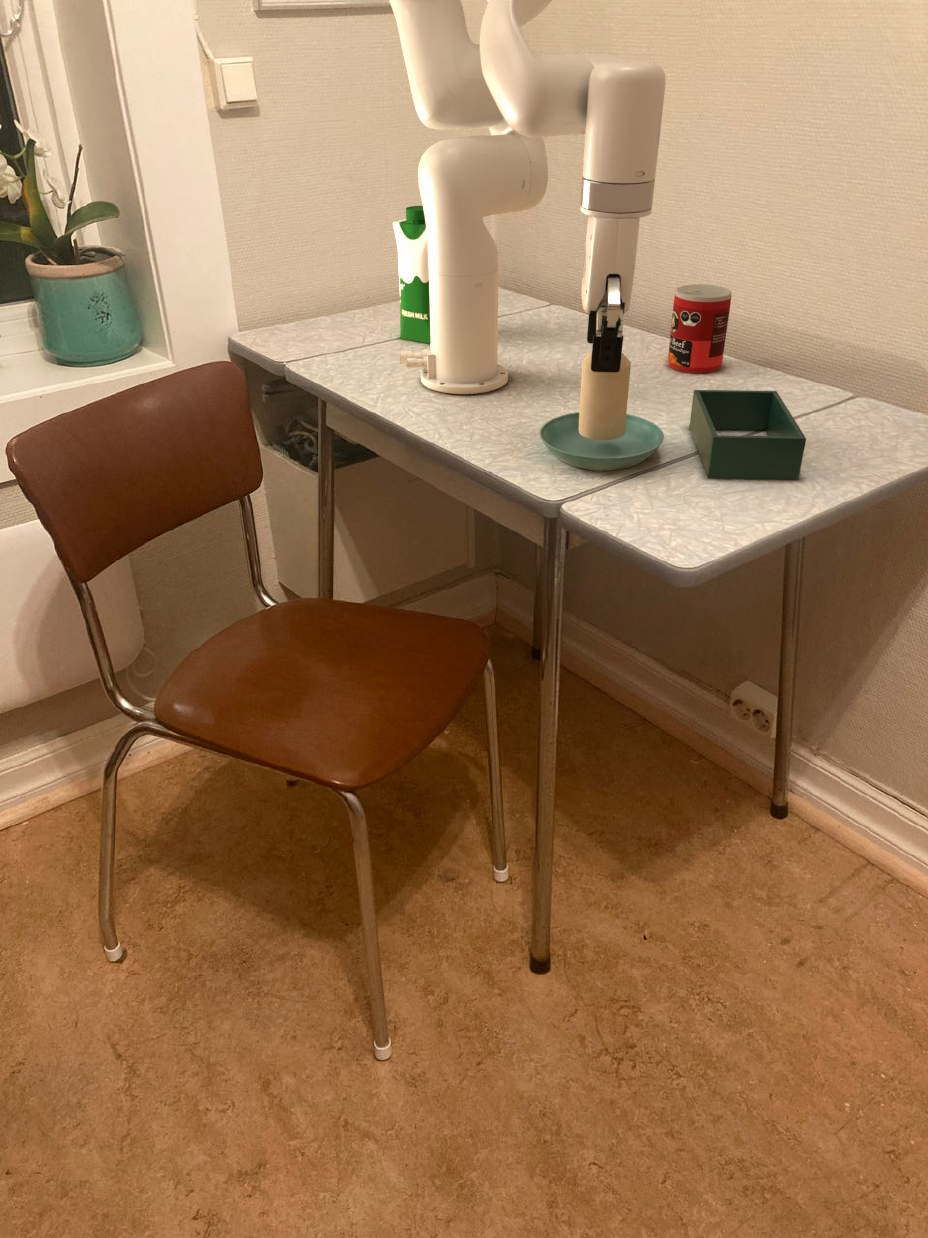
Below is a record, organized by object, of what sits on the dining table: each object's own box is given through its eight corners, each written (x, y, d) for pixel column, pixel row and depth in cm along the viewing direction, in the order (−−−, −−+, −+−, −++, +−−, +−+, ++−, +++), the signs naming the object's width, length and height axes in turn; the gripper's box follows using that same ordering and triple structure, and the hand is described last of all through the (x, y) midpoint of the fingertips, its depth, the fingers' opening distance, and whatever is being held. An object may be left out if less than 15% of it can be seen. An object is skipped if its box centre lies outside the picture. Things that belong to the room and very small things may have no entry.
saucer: (537, 430, 123) (537, 410, 121) (653, 430, 122) (655, 410, 121) (540, 478, 110) (541, 456, 109) (669, 479, 110) (672, 457, 108)
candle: (623, 442, 112) (630, 357, 107) (576, 439, 113) (580, 355, 108) (626, 425, 116) (633, 343, 111) (580, 422, 117) (585, 340, 112)
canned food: (661, 358, 147) (669, 284, 141) (712, 357, 147) (722, 283, 141) (675, 375, 140) (683, 298, 134) (728, 373, 141) (739, 296, 135)
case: (707, 478, 110) (713, 436, 107) (689, 427, 123) (693, 389, 120) (798, 479, 109) (806, 438, 106) (770, 428, 122) (776, 390, 120)
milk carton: (392, 339, 157) (386, 207, 146) (423, 325, 163) (420, 198, 152) (437, 347, 153) (434, 212, 142) (467, 333, 159) (466, 203, 148)
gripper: (578, 180, 108) (567, 332, 118) (584, 213, 94) (572, 382, 103) (645, 182, 108) (629, 333, 117) (661, 214, 94) (642, 384, 103)
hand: (602, 356), depth 110 cm, fingers open, 9 cm apart
